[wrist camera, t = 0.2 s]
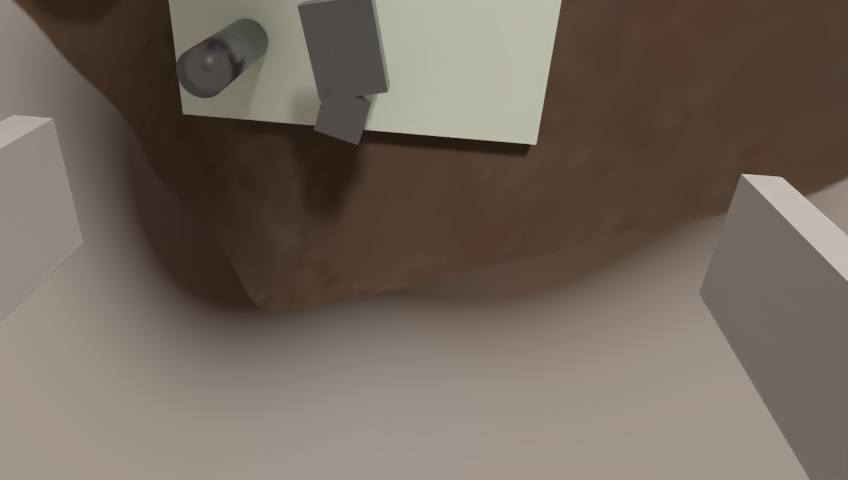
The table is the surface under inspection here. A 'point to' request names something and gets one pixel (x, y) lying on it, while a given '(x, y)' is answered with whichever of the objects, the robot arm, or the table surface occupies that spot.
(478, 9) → the board
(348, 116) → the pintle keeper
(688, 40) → the table surface
